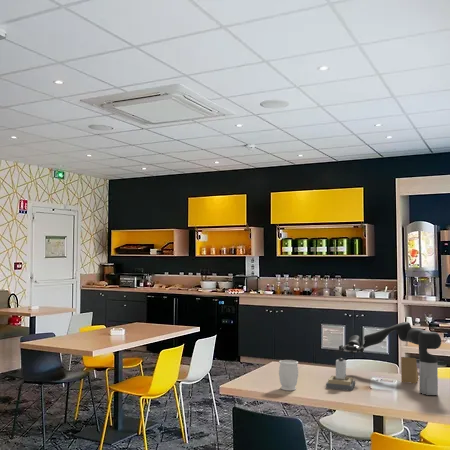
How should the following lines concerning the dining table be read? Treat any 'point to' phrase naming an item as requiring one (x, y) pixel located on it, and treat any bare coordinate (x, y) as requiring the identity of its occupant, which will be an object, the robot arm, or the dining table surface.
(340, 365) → the grey bottle
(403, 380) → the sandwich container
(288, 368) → the jar
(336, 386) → the charcoal dock
